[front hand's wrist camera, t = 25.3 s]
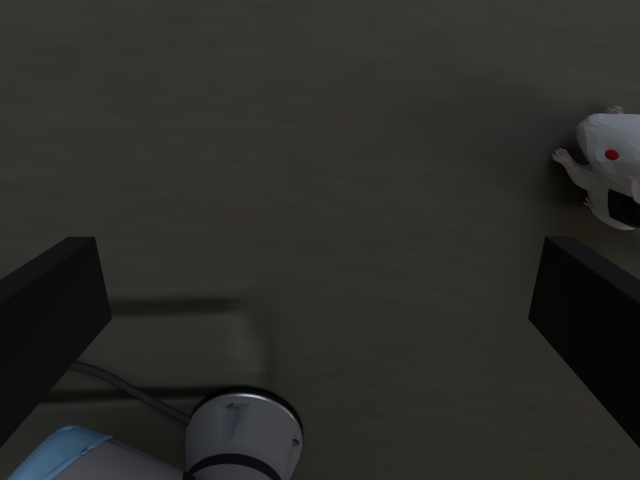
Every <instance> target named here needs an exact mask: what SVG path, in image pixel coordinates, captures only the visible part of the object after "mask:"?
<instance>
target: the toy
mask: <svg viewBox="0 0 640 480" xmlns="http://www.w3.org/2000/svg"><path fill="white" fill-rule="evenodd" d="M612 107H614V108H615V109H612V108H609V109H610V110H611V111H610V110H608V109H606V110H607V111H608V112H607V111H605V110H604V111H605V114H593V115H591V116H588V117H587V118H586V119H585V120H584V121H582V122H581V123H580V124H578V126H577V135H576V136H577V140H578V143H579V145H580V147H581V149H582V151H583V153H584V155H585V156H586V158H587V160H588V161H589V163H590V164H588V165H586V166H585V165H581V164H579V163H577V162H575V161H574V160H573V158H572V157H571V156H570V155H569V153H568V152H567V151H566V150H564V149H561V148H559V149H560V150H561V151H562V152H561V151H560V150H558V149H556V150H557V151H558V152H557V151H555V150H554V151H555V152H556V153H555V155H556V156H555V155H554V154H552V155H553V160H555V161H557V162H559V163H561V164H562V165H563V166H564V167H565V168H566V171H567V173H568V175H569V176H570V178H571V179H572V181H573V182H574V183H575V184H576V185H578V186H579V187H581V188H583V189H586V190H587V193H588V195H587V196H588V197H589V199H588V198H586V197H585V198H586V201H587V202H588V203H585V202H584V204H585V205H587V206H589V207H590V209H591V211H592V212H593V214H594V215H595V216H596V217H597V218H599V219H600V220H601V221H602V222H604V223H606V224H608V225H609V226H611V227H614V228H617V229H621V230H633V229H635V228H638V229H640V115H637V114H624V113H623V110H622V108H621V107H616V106H612ZM607 108H608V107H607ZM557 148H558V147H557Z"/></svg>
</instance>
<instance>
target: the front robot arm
mask: <svg viewBox="0 0 640 480" xmlns="http://www.w3.org/2000/svg"><path fill="white" fill-rule="evenodd" d="M111 319H112V316H111V312H110V307H109V302H108V297H107V293H106V288H105V283H104V278H103V274H102V269H101V264H100V260H99V255H98V250H97V245H96V241H95V237H67V238H66V239H64V240H63V241H61V242H59V243H58V244H56V245H55V246H53V247H52V248H50V249H48V250H47V251H45V252H44V253H42V254H41V255H39V256H37V257H36V258H34V259H33V260H31V261H29V262H28V263H26V264H25V265H23V266H22V267H20V268H18V269H17V270H15V271H14V272H12V273H11V274H9V275H7V276H6V277H4V278H3V279H1V280H0V448H1V447H2V445H3V444H4V443H5V442H6V441H7V440H8V439H9V437H10V436H11V435H12V434H13V433H14V432H15V430H16V429H17V428H18V427H19V426H20V425H21V423H22V422H23V421H24V420H25V419H26V418H27V416H28V415H29V414H30V413H31V412H32V411H33V409H34V408H35V407H36V406H37V405H38V404H39V403H40V401H41V400H42V399H43V398H44V397H45V396H46V394H47V393H48V392H49V391H50V390H51V389H52V387H53V386H54V385H55V384H56V383H57V382H58V380H59V379H60V378H61V377H62V376H63V375H64V373H65V372H66V371H67V370H68V369H72V370H77V371H81V372H85V373H88V374H91V375H94V376H96V377H99V378H101V379H103V380H105V381H107V382H109V383H111V384H113V385H115V386H117V387H118V388H120V389H122V390H124V391H125V392H127V393H129V394H130V395H132V396H134V397H136V398H138V399H140V400H142V401H143V402H145V403H147V404H149V405H151V406H153V407H154V408H156V409H158V410H160V411H162V412H164V413H165V414H167V415H169V416H171V417H173V418H175V419H177V420H179V421H181V422H183V423H185V424H187V428H186V433H185V465H186V472H185V471H183V470H181V469H179V468H177V467H175V466H173V465H170V464H168V463H166V462H164V461H161V460H159V459H157V458H155V457H153V456H151V455H149V454H147V453H144V452H142V451H140V450H138V449H136V448H134V447H132V446H130V445H127V444H125V443H123V442H121V441H119V440H117V439H115V437H114V436H113V435H104V434H101V433H98V432H96V431H93V430H91V429H88V428H86V427H83V426H80V425H69V426H66V427H63V428H61V429H59V430H57V431H56V432H54V433H53V434H52V435H50V436H49V437H48V438H47V439H45V440H44V441H43V442H42V443H41V444H40V445H39V446H38V447H37V448H36V449H35V450H34V451H33V452H32V453H31V454H30V455H29V456H28V457H27V458H26V459H25V460H24V461H23V462H22V463H21V465H20V466H19V467H18V468H17V469H16V470H15V471H14V472H13V473H12V474H11V476H10V477H9V478H8V479H7V480H290V478H291V476H292V473H293V471H294V469H295V467H296V465H297V462H298V460H299V458H300V455H301V452H302V446H303V426H302V422H301V420H300V418H299V416H298V414H297V412H296V411H295V410H294V408H293V407H292V406H291V405H290V404H289V403H288V402H286V401H285V400H284V399H282V398H281V397H279V396H278V395H276V394H274V393H271V392H269V391H266V390H263V389H259V388H254V387H231V388H226V389H222V390H219V391H217V392H214V393H212V394H210V395H209V396H207V397H206V398H204V399H203V400H202V401H201V402H200V403H199V404H198V405H197V406H196V407H195V409H194V411H193V412H192V415H191V417H189V416H188V415H186V414H184V413H182V412H180V411H178V410H176V409H174V408H172V407H170V406H168V405H167V404H165V403H163V402H161V401H159V400H157V399H155V398H154V397H152V396H150V395H148V394H146V393H145V392H143V391H141V390H139V389H137V388H135V387H134V386H132V385H130V384H128V383H127V382H125V381H123V380H122V379H120V378H118V377H116V376H114V375H112V374H110V373H108V372H106V371H104V370H102V369H99V368H96V367H94V366H91V365H87V364H84V363H80V362H75V361H76V360H77V358H78V357H79V356H80V355H81V354H82V353H83V351H84V350H85V349H86V348H87V347H88V346H89V344H90V343H91V342H92V341H93V340H94V339H95V337H96V336H97V335H98V334H99V333H100V332H101V331H102V329H103V328H104V327H105V326H106V325H107V324H108V322H109V321H110V320H111ZM528 319H529V320H530V321H531V322H532V324H533V325H534V326H535V327H536V328H537V329H538V331H539V332H540V333H541V334H542V335H543V336H544V337H545V339H546V340H547V341H548V342H549V343H550V344H551V346H552V347H553V348H554V349H555V350H556V351H557V353H558V354H559V355H560V356H561V357H562V358H563V360H564V361H565V362H566V363H567V364H568V365H569V367H570V368H571V369H572V370H573V371H574V372H575V373H576V375H577V376H578V377H579V378H580V379H581V380H582V382H583V383H584V384H585V385H586V386H587V387H588V389H589V390H590V391H591V392H592V393H593V394H594V396H595V397H596V398H597V399H598V400H599V401H600V403H601V404H602V405H603V406H604V407H605V408H606V409H607V411H608V412H609V413H610V414H611V415H612V416H613V418H614V419H615V420H616V421H617V422H618V423H619V425H620V426H621V427H622V428H623V429H624V430H625V432H626V433H627V434H628V435H629V436H630V437H631V439H632V440H633V441H634V442H635V443H636V444H637V445H638V447H639V448H640V280H639V279H637V278H636V277H634V276H633V275H631V274H629V273H628V272H626V271H625V270H623V269H622V268H620V267H618V266H617V265H615V264H614V263H612V262H611V261H609V260H607V259H606V258H604V257H603V256H601V255H599V254H598V253H596V252H595V251H593V250H592V249H590V248H588V247H587V246H585V245H584V244H582V243H581V242H579V241H577V240H576V239H574V238H573V237H545V241H544V245H543V250H542V255H541V260H540V264H539V269H538V274H537V278H536V283H535V288H534V293H533V297H532V302H531V307H530V312H529V316H528Z"/></svg>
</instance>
